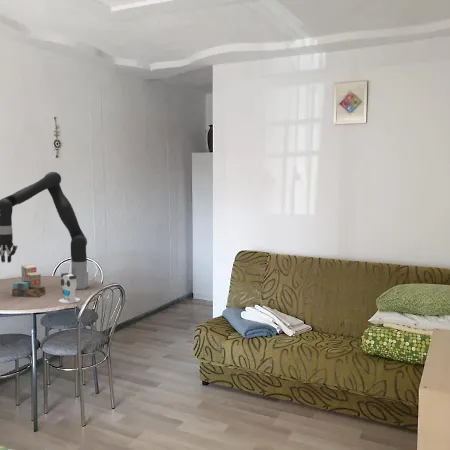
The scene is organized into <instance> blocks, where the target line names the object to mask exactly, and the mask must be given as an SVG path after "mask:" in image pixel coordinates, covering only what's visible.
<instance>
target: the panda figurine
mask: <svg viewBox="0 0 450 450" xmlns="http://www.w3.org/2000/svg"><path fill="white" fill-rule="evenodd" d="M60 277H61V279H60V285H61V286H62V287H61V288H62V294H63V298H60V299H59V300H58V302H59V303H62V304H74V303H77V302H78V303H79V302H80V301H81V299H80V298H79V297H76V290H77V289H76V287H77V283H76V275H72V273H70V274H69V273H68V272H65V273H61V275H60Z"/></svg>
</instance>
